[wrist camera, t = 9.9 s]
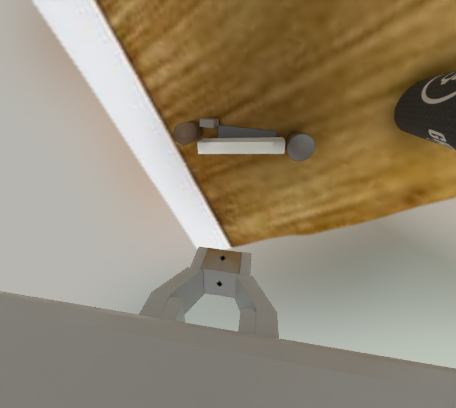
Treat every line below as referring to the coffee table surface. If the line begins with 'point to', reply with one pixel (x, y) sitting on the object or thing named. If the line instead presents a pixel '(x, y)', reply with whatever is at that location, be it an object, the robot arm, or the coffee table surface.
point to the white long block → (242, 145)
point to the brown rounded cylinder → (193, 130)
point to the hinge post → (299, 146)
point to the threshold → (243, 132)
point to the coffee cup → (430, 110)
